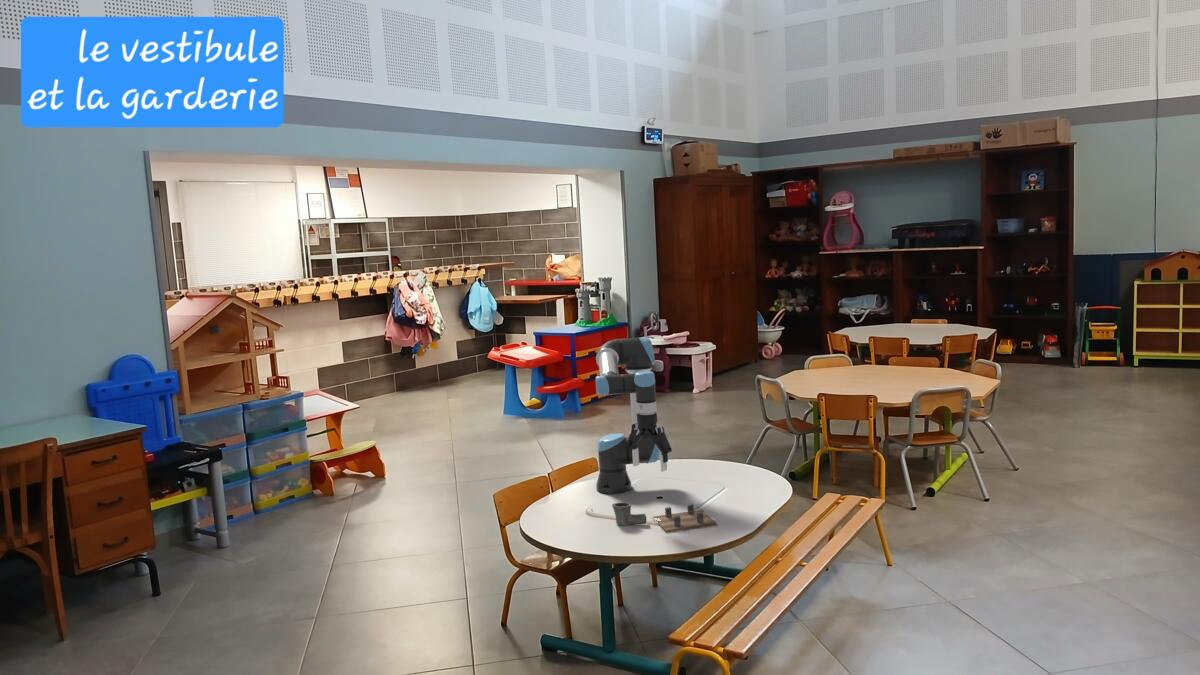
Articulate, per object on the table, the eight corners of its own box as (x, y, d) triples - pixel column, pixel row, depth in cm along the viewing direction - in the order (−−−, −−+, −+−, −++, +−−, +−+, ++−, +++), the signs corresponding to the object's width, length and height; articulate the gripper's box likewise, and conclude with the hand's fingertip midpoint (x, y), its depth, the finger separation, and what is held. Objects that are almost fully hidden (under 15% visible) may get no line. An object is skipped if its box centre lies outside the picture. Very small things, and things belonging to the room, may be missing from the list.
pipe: (645, 527, 322) (643, 506, 321) (611, 527, 324) (610, 506, 323) (647, 521, 328) (646, 501, 327) (614, 521, 330) (613, 501, 329)
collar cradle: (652, 519, 330) (652, 507, 330) (701, 511, 335) (701, 500, 334) (665, 532, 315) (665, 520, 314) (717, 525, 319) (716, 513, 319)
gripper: (615, 411, 327) (618, 465, 330) (666, 418, 310) (669, 475, 313) (628, 407, 333) (631, 461, 335) (679, 414, 316) (682, 470, 318)
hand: (649, 468), depth 324 cm, fingers open, 13 cm apart
